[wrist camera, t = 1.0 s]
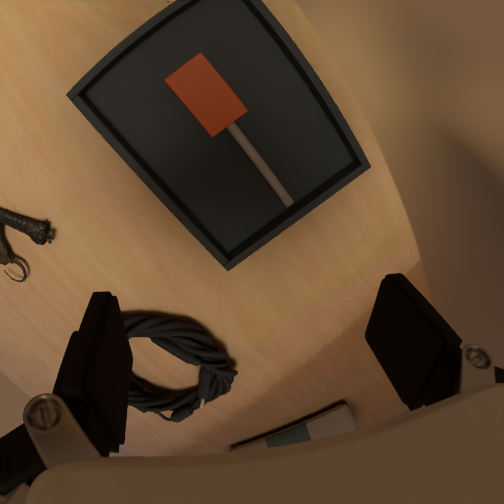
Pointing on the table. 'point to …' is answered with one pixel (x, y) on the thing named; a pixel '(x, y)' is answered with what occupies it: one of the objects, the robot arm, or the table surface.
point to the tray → (224, 144)
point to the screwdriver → (217, 109)
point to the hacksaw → (27, 226)
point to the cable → (190, 351)
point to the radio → (307, 430)
